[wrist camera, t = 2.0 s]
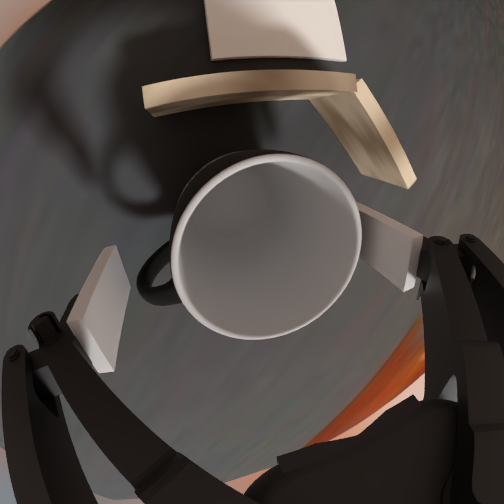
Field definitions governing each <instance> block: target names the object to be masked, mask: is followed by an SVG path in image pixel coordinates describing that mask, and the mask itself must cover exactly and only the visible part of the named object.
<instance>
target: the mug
mask: <svg viewBox="0 0 504 504" xmlns="http://www.w3.org/2000/svg"><path fill="white" fill-rule="evenodd" d="M361 240H362V227H361V219H360V214H359V210H358V207H357V204H356V202H355V199H354V197H353V195H352V194H351V192H350V190H349V189H348V187H347V186H346V184H345V183H344V182H343V181H342V180H341V179H340V178H339V176H337V175H336V174H335V173H334V172H333V171H332V170H330V169H329V168H327V167H326V166H324V165H323V164H321V163H319V162H317V161H315V160H313V159H310V158H308V157H305V156H302V155H298V154H294V153H290V152H284V151H276V150H245V151H238V152H233V153H228V154H225V155H222V156H219V157H217V158H215V159H213V160H211V161H209V162H208V163H206V164H205V165H203V166H202V167H201V168H200V169H198V170H197V171H196V172H195V173H194V175H193V176H192V177H191V178H190V179H189V181H188V182H187V184H186V185H185V187H184V189H183V191H182V193H181V195H180V197H179V200H178V203H177V206H176V209H175V212H174V216H173V221H172V226H171V233H170V240H169V241H168V242H166V243H165V244H164V245H163V246H161V247H160V248H159V249H158V250H157V251H156V252H155V253H154V254H153V255H152V256H151V257H150V258H149V259H148V260H147V261H146V262H145V264H144V265H143V266H142V268H141V270H140V272H139V274H138V276H137V289H138V291H139V293H140V295H141V296H142V298H143V299H144V300H145V301H147V302H149V303H150V304H153V305H159V306H165V305H173V304H178V303H183V304H184V306H185V307H186V309H187V310H188V311H189V312H190V313H191V314H192V316H194V317H195V318H196V319H197V320H198V321H199V322H200V323H202V324H203V325H205V326H206V327H208V328H210V329H211V330H213V331H215V332H218V333H220V334H223V335H226V336H229V337H233V338H239V339H250V340H256V339H268V338H273V337H278V336H281V335H285V334H288V333H290V332H293V331H295V330H297V329H300V328H302V327H303V326H305V325H307V324H309V323H310V322H312V321H313V320H315V319H316V318H318V317H319V316H320V315H321V314H323V313H324V312H325V311H326V310H327V309H328V308H329V307H330V306H331V305H332V304H333V303H334V302H335V301H336V300H337V299H338V297H339V296H340V295H341V293H342V292H343V291H344V289H345V288H346V286H347V284H348V283H349V281H350V279H351V277H352V275H353V272H354V270H355V268H356V265H357V262H358V258H359V254H360V249H361ZM169 261H170V269H171V275H172V278H171V279H170V281H168V282H167V283H166V284H163V285H161V286H157V287H151V286H152V283H153V281H154V279H155V277H156V276H157V274H158V273H159V272H160V270H161V269H162V268H163V267H164V266H165V265H166V264H167V263H168V262H169Z"/></svg>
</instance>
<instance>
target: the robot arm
mask: <svg viewBox="0 0 504 504" xmlns="http://www.w3.org/2000/svg"><path fill="white" fill-rule="evenodd" d="M355 202H356V201H355ZM356 204H357V207H358V210H359V214H360V219H361V227H362V240H361V249H360V254H359V257H360V258H361V259H363V260H364V261H365V262H366V263H368V264H369V265H370V266H372V267H373V268H374V269H375V270H377V271H378V272H379V273H381V274H382V275H383V276H384V277H386V278H387V279H388V280H389V281H391V282H392V283H393V284H394V285H396V286H397V287H398V288H399V289H400V290H402V291H403V292H404V291H407V290H409V289H411V288H413V287H414V285H415V280H416V276H417V277H419V278H420V279H421V283H420V287H419V291H418V295H417V300H419V297H420V296H421V302H422V313H423V325H424V343H425V393H424V399H423V400H422V401H418V400H417V399H416V397H415V396H414V395H412V396H410V397H408V398H407V399H405V400H403V401H402V402H400V403H399V404H397V405H395V406H393V407H392V408H390V409H388V410H386V411H385V412H384V413H383V414H382V415H381V416H380V417H378V418H377V419H376V420H375V421H374V422H373V423H372V424H371V425H369V426H368V427H367V428H366V429H365V430H364V431H362V432H361V433H360V434H358V435H356V436H353V437H348V438H344V439H338V440H333V441H328V442H322V443H315V444H313V445H310V446H307V447H305V448H302V449H299V450H296V451H293V452H290V453H287V454H284V455H281V456H277V463H278V465H276V466H275V467H273V468H271V469H269V470H268V471H267V472H265V473H264V474H262V475H261V476H260V477H259V478H258V479H256V480H255V481H254V482H253V483H252V485H251V486H250V487H249V488H248V489H247V491H246V492H245V493H244V495H243V494H241V493H240V492H238V491H236V490H234V489H233V488H231V487H229V486H228V485H226V484H225V483H223V482H222V481H220V480H218V479H217V478H215V477H214V476H212V475H211V474H209V473H208V472H206V471H205V470H203V469H202V468H201V467H199V466H198V465H196V464H195V463H194V462H192V461H191V460H189V459H188V458H187V457H185V456H184V455H182V454H181V453H179V452H177V451H175V450H174V449H172V448H171V447H170V446H169V445H168V444H166V443H165V442H164V441H163V440H162V439H160V438H159V437H158V436H157V435H156V434H155V433H154V432H152V431H151V430H150V429H149V428H148V427H147V426H146V425H145V424H144V423H143V422H142V421H140V420H139V419H138V418H137V417H136V416H135V415H134V414H133V413H132V412H131V411H130V410H129V409H128V408H127V407H126V406H125V405H124V404H123V403H122V402H121V401H120V400H119V398H118V397H117V396H116V395H115V394H114V393H113V392H112V391H111V390H110V389H109V388H108V386H107V385H106V384H105V383H104V382H103V381H102V380H101V378H100V377H99V376H98V375H97V374H96V372H95V371H94V370H93V369H92V368H91V367H92V364H93V366H94V367H95V369H96V370H97V371H98V373H105V372H114V371H115V364H116V358H117V351H118V346H119V340H120V334H121V329H122V324H123V319H124V314H125V310H126V305H127V301H128V296H129V292H130V288H131V286H130V284H129V281H128V278H127V276H126V273H125V270H124V267H123V264H122V262H121V259H120V256H119V253H118V250H117V247H116V245H113V246H109V247H105V248H104V249H103V250H102V252H101V254H100V256H99V257H98V259H97V261H96V263H95V265H94V266H93V268H92V270H91V272H90V274H89V276H88V278H87V280H86V282H85V284H84V285H83V287H82V289H81V291H80V293H79V294H77V295H75V296H74V297H73V298H72V299H71V300H70V302H69V304H68V306H67V308H66V310H65V312H64V315H63V316H62V318H61V320H60V322H59V321H58V319H57V317H56V316H55V314H54V313H53V312H52V311H47V312H44V313H41V314H39V315H38V316H36V317H35V318H34V319H33V320H32V321H31V322H30V324H29V326H28V331H29V333H30V334H31V336H32V337H33V339H34V341H35V342H36V344H37V345H38V347H39V349H37V350H34V351H32V352H29V353H28V351H27V350H26V348H25V347H24V346H23V345H16V346H14V347H12V348H10V349H9V350H8V351H7V352H6V355H5V356H4V359H3V370H2V420H3V433H4V443H5V450H6V457H7V463H8V469H9V474H10V478H11V483H12V487H13V491H14V494H15V498H16V501H17V504H98V503H97V501H96V499H95V497H94V495H93V493H92V490H91V488H90V486H89V484H88V482H87V479H86V477H85V475H84V472H83V470H82V468H81V465H80V463H79V460H78V457H77V455H76V452H75V449H74V446H73V443H72V440H71V437H70V434H69V431H68V428H67V424H66V421H65V417H64V413H63V410H62V406H61V401H60V397H59V395H60V394H62V393H63V395H64V397H65V398H66V400H67V402H68V403H69V405H70V406H71V408H72V410H73V411H74V413H75V414H76V416H77V417H78V419H79V420H80V422H81V423H82V425H83V426H84V428H85V429H86V430H87V432H88V433H89V435H90V436H91V437H92V439H93V440H94V441H95V443H96V444H97V445H98V447H99V448H100V449H101V450H102V452H103V453H104V454H105V455H106V456H107V458H108V459H109V460H110V461H111V462H112V464H113V465H114V466H115V467H116V468H117V469H118V470H119V472H120V473H121V474H122V475H123V476H124V477H125V478H126V479H127V480H128V481H129V482H130V483H131V485H132V486H133V487H134V488H135V493H136V495H137V496H138V497H139V498H140V499H141V500H142V501H143V503H145V504H504V264H503V263H502V261H501V260H500V259H499V258H498V257H497V256H496V255H495V254H494V253H493V252H492V251H491V250H490V249H489V248H488V247H487V246H486V245H485V244H484V243H483V242H482V241H481V240H480V239H478V238H477V237H475V236H474V235H472V234H462V235H460V239H459V244H453V243H452V242H451V241H450V240H449V239H447V238H444V237H441V236H432V237H430V238H429V239H428V238H426V237H424V236H423V235H422V234H420V233H418V232H416V231H414V230H413V229H411V228H409V227H407V226H405V225H403V224H401V223H399V222H397V221H395V220H393V219H391V218H389V217H387V216H385V215H383V214H381V213H379V212H377V211H375V210H373V209H371V208H369V207H366V206H364V205H362V204H360V203H358V202H356ZM475 269H476V276H475V279H473V278H472V277H473V273H474V270H475Z"/></svg>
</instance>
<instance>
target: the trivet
mask: <svg viewBox="0 0 504 504" xmlns="http://www.w3.org/2000/svg"><path fill="white" fill-rule="evenodd" d="M204 7H205V16H206V24H207V32H208V40H209V48H210V56H211V61H217V60H228V59H243V58H304V59H318V60H329V61H338V62H345V61H347V60H346V54H345V48H344V42H343V37H342V32H341V27H340V22H339V18H338V13H337V9H336V5H335V1H334V0H204Z"/></svg>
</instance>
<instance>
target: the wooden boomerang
mask: <svg viewBox="0 0 504 504" xmlns="http://www.w3.org/2000/svg"><path fill="white" fill-rule="evenodd" d="M142 91H143V99H144V106H145V109H146V110H147V111H148V112H149V113H150V114H151V115H152V116H153V117H158V116H163V115H168V114H172V113H177V112H183V111H188V110H194V109H200V108H206V107H213V106H220V105H228V104H236V103H246V102H258V101H272V100H298V99H309V100H310V102H311V103H312V104H313V106H314V107H315V108H316V109H317V111H318V112H319V113H320V115H321V116H322V117H323V119H324V120H325V121H326V123H327V124H328V125H329V127H330V128H331V130H332V131H333V132H334V134H335V135H336V137H337V138H338V139H339V141H340V142H341V144H342V145H343V147H344V148H345V150H346V151H347V153H348V154H349V156H350V157H351V159H352V160H353V162H354V163H355V165H356V166H357V168H358V170H359V171H360V173H361V174H362V175H366V176H369V177H372V178H376V179H379V180H382V181H385V182H388V183H391V184H394V185H397V186H400V187H403V188H406V189H409V188H410V187H411V186H412V184H413V183H414V182H415V181H416V180H417V179H416V176H415V174H414V172H413V170H412V167H411V165H410V163H409V161H408V159H407V157H406V154H405V152H404V150H403V148H402V146H401V144H400V142H399V140H398V138H397V136H396V135H395V133H394V131H393V129H392V127H391V125H390V123H389V122H388V120H387V118H386V116H385V115H384V113H383V111H382V109H381V108H380V106H379V104H378V103H377V101H376V100H375V98H374V96H373V95H372V93H371V92H370V90H369V89H368V87H367V85H366V84H365V82H364V81H363V79H357V80H356V76H355V74H350V73H341V72H330V71H315V70H249V71H235V72H223V73H214V74H206V75H199V76H192V77H186V78H180V79H174V80H169V81H164V82H159V83H155V84H150V85H146V86H142Z"/></svg>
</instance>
